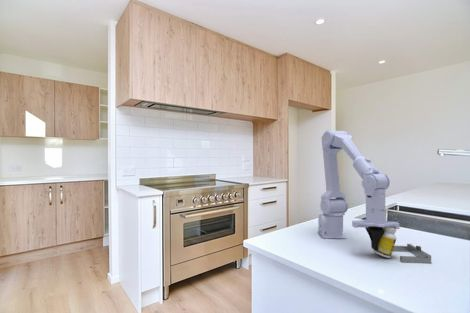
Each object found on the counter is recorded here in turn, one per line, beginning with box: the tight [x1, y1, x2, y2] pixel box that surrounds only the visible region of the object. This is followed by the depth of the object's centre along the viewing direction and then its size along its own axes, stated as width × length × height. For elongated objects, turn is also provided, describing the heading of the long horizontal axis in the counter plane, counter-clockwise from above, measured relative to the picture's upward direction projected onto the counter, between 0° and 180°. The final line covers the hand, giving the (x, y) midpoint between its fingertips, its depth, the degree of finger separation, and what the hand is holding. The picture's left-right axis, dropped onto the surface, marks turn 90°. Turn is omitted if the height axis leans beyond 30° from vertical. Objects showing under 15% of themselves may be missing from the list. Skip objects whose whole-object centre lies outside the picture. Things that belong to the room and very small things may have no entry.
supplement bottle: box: [372, 226, 397, 259], centre depth 82 cm, size 5×5×10 cm
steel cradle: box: [393, 243, 432, 264], centre depth 82 cm, size 9×10×3 cm
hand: (375, 249), depth 81 cm, fingers closed, pressing on supplement bottle
